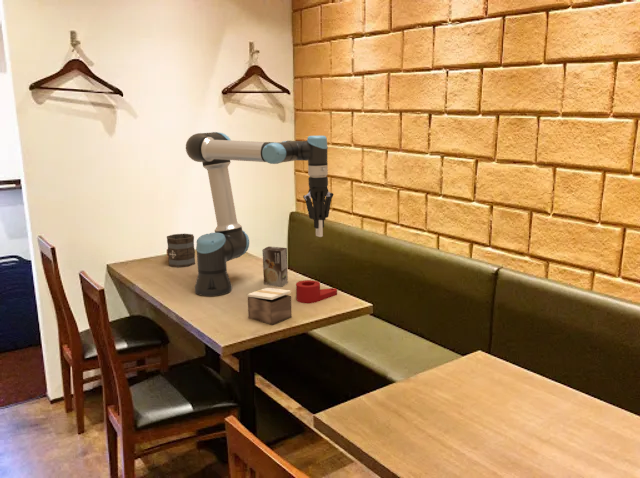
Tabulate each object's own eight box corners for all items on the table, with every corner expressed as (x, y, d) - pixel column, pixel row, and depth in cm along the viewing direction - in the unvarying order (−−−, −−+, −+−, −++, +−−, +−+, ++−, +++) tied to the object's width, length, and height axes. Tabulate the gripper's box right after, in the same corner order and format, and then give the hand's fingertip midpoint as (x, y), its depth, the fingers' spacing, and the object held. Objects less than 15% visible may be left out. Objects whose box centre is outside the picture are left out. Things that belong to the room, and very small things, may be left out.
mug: (201, 266, 274) (199, 236, 271) (175, 272, 266) (173, 240, 262) (182, 259, 289) (180, 230, 286) (157, 264, 280) (155, 234, 277)
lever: (303, 305, 218) (303, 288, 217) (292, 298, 226) (291, 282, 225) (342, 297, 227) (342, 281, 226) (330, 291, 235) (330, 275, 234)
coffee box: (288, 283, 246) (287, 247, 242) (282, 287, 240) (281, 251, 236) (269, 281, 249) (268, 246, 245) (263, 285, 243) (261, 249, 240)
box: (248, 317, 205) (247, 296, 203) (267, 310, 212) (267, 289, 211) (272, 325, 197) (271, 303, 196) (291, 317, 205) (291, 296, 203)
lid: (247, 296, 203) (247, 294, 203) (266, 289, 211) (266, 287, 210) (271, 299, 195) (271, 297, 195) (290, 292, 203) (290, 290, 203)
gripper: (309, 178, 211) (310, 240, 216) (337, 175, 218) (338, 235, 223) (298, 176, 217) (300, 236, 222) (326, 174, 224) (327, 232, 229)
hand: (319, 236), depth 223 cm, fingers closed
